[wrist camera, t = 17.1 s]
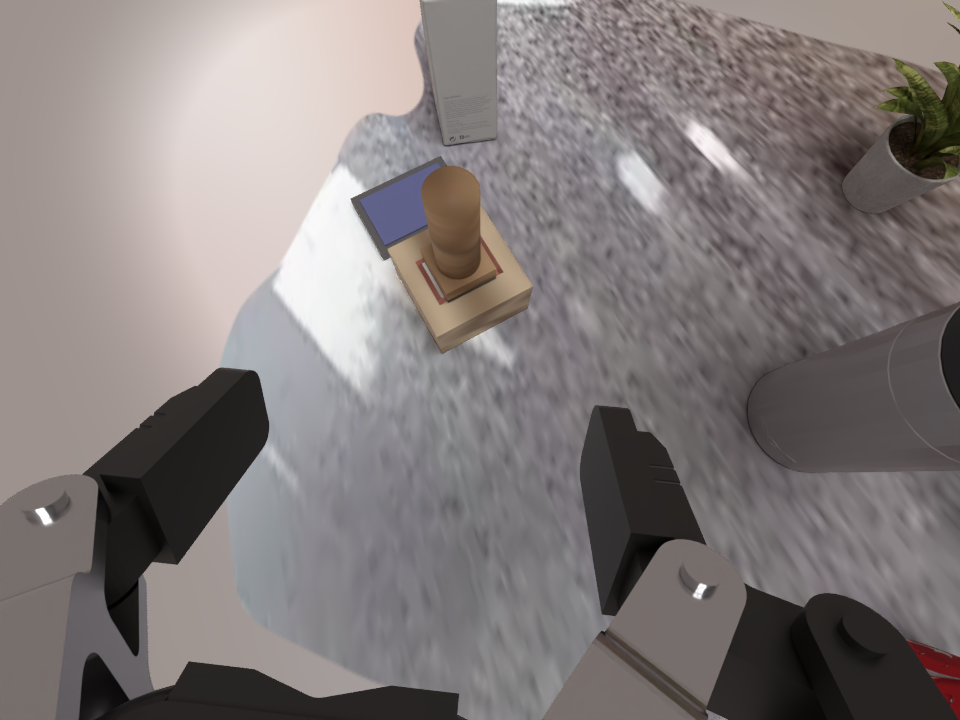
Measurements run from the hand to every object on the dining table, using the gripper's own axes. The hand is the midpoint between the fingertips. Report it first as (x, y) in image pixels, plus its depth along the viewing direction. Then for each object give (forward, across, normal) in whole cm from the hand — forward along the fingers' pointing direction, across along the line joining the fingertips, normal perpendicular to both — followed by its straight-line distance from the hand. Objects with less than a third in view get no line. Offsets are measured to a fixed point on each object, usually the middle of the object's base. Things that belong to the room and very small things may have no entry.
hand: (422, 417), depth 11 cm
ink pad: (+37, +8, +4) cm, 38 cm away
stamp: (+28, +2, +6) cm, 28 cm away
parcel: (+31, +2, +9) cm, 33 cm away
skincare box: (+46, +4, -5) cm, 46 cm away
